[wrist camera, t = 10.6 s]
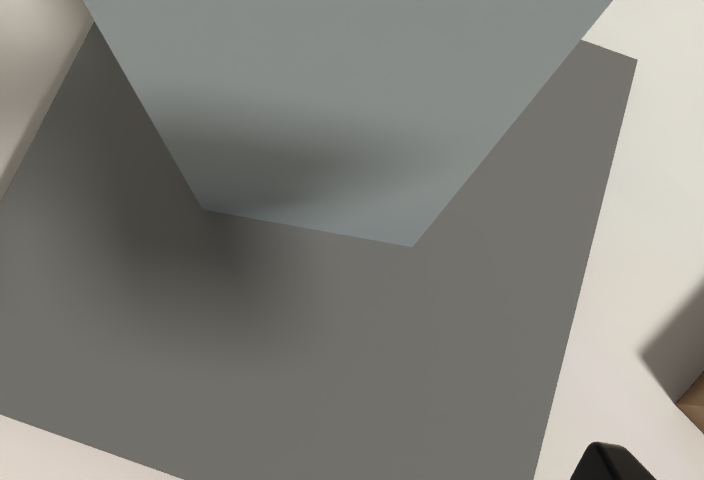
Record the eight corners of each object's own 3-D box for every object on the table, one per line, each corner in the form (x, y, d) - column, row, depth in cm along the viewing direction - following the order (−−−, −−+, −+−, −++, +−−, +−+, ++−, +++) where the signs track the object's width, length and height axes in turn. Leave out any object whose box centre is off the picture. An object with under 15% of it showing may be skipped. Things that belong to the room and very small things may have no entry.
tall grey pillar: (412, 247, 17) (644, -37, 6) (202, 209, 17) (-15, -172, 5) (419, 194, 18) (651, -177, 6) (214, 156, 17) (36, -307, 6)
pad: (-74, 381, 16) (-92, 381, 15) (167, -90, 20) (161, -109, 19) (495, 583, 16) (505, 593, 15) (624, 72, 20) (637, 59, 19)
